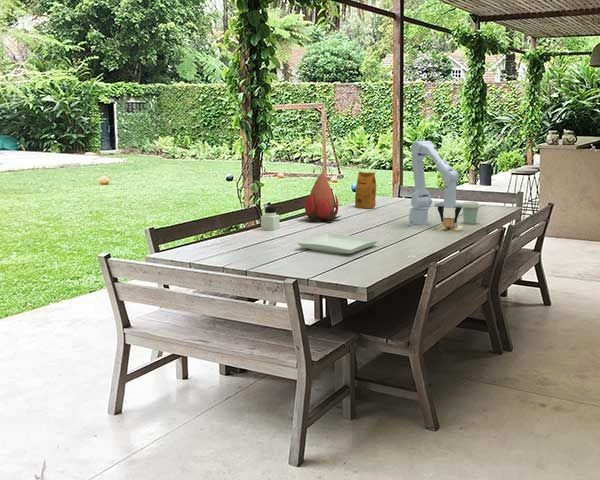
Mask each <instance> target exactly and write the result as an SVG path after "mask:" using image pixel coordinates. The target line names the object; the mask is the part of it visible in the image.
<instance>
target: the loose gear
mask: <svg viewBox="0 0 600 480" xmlns="http://www.w3.org/2000/svg"><path fill="white" fill-rule="evenodd" d="M454 221H455V217H443V222H442V224H441V225H443V226H447V227H453V226H455V223H454Z"/></svg>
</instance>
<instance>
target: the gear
mask: <svg viewBox="0 0 600 480" xmlns="http://www.w3.org/2000/svg"><path fill="white" fill-rule="evenodd" d="M457 226H458V220H457V222H456V223H455V226H453V227H450V228H451V229H453V228H457ZM444 227H445V228H447V226H444Z"/></svg>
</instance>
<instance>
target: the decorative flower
mask: <svg viewBox="0 0 600 480" xmlns="http://www.w3.org/2000/svg"><path fill="white" fill-rule="evenodd" d="M326 166H327V167H328V168H327V169H324V167H326ZM317 168H319V170H320V171H321V173H320V174H319V175H318V177H317V178H316V179H315V182H314V184H313V186H312V188H311V190H310V193H309V196H306V198H305V200H304V211H305V215H306V216H305V215H303V217H305V219H308V220H306V221H308V222H317V221H318V222H322V223H331V222H332V220H336V219H339V218H341V216H342V215H338V212H339V201H338V200H339V199H338V197H337V195H336V194H333V191H332V188H331V185H330V184H329V182H328V179H327V177H326V176H325V171H326V170H328V171H329V172H331V174H330V176H331V177H332V176H333V173H332V171H331V169H330V166H329V165H328V164H327V165H326V164H325V165H323V166H322V169H321V167H320V166H319V165H317ZM315 172H316V169H313V170H312V173H313V174H315ZM334 197H335V199H334ZM337 215H338V216H337Z"/></svg>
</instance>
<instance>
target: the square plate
mask: <svg viewBox="0 0 600 480" xmlns="http://www.w3.org/2000/svg"><path fill="white" fill-rule="evenodd" d="M378 242H379V240H378V239H373V238H368V237H362V236H355V235H347V234H336V233H324V234H320V235H316V236H311V237H310V238H306V239H303V240H300V241H298V242H296V243H297V244H298V246H300V247H301V248H303V249H308V250H311V251H318V252H324V253H330V254H331V253H333V254H338V255H339V254H341V255H351V254H354V253H357V252H359V251H363V250H364V249H367V248H370V247H373V246H375V245H376V244H377V243H378Z"/></svg>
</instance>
